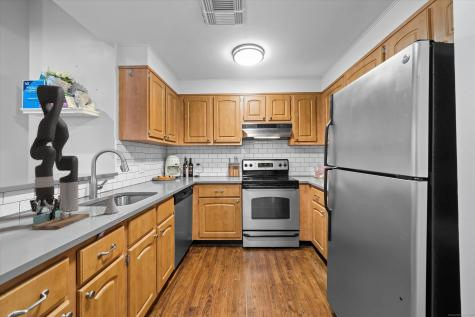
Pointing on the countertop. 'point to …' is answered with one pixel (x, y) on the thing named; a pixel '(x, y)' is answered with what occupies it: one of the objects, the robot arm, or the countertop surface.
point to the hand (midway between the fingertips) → (46, 219)
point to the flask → (111, 206)
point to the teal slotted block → (44, 217)
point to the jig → (61, 221)
